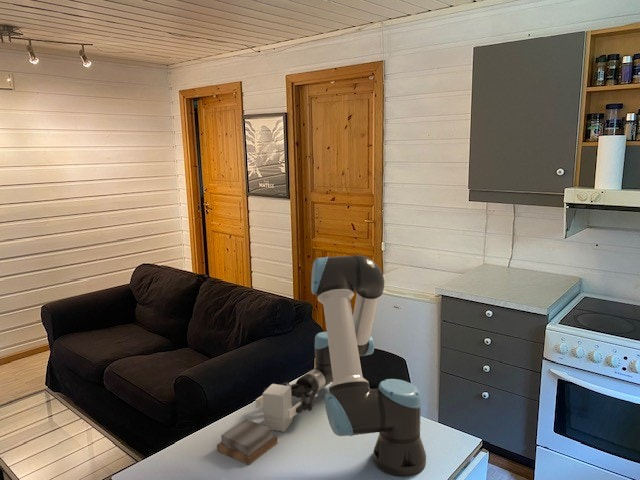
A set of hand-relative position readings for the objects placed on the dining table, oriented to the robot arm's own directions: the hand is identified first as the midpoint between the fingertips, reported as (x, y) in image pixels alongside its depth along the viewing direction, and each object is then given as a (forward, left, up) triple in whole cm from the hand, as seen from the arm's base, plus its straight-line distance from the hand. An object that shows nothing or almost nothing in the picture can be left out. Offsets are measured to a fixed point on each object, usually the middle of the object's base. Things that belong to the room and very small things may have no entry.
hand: (272, 408), depth 158 cm
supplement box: (0, -3, -7) cm, 8 cm away
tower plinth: (0, +12, -7) cm, 14 cm away
